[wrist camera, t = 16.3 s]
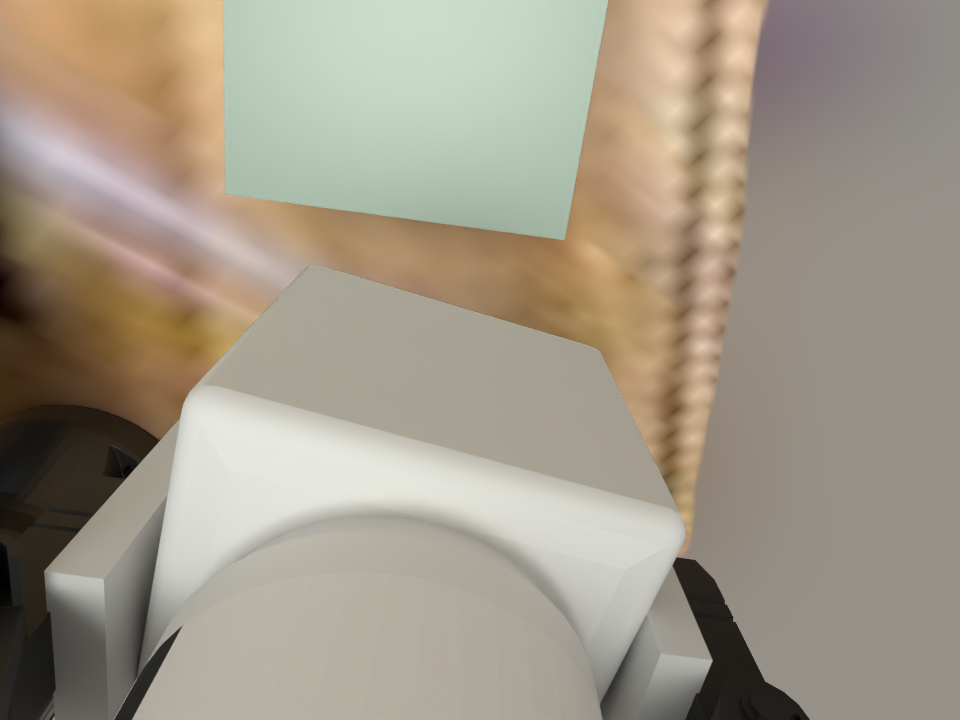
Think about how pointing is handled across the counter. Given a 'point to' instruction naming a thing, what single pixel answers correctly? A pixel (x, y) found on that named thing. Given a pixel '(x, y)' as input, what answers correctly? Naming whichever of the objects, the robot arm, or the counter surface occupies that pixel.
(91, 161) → the counter surface
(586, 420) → the medicine bottle
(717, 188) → the counter surface
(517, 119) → the lid
